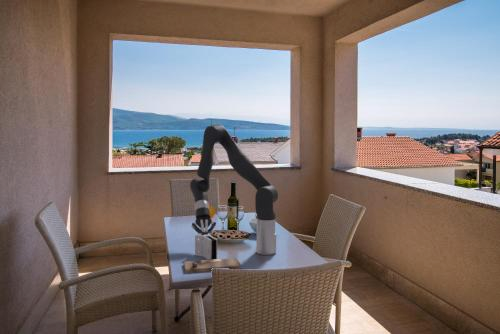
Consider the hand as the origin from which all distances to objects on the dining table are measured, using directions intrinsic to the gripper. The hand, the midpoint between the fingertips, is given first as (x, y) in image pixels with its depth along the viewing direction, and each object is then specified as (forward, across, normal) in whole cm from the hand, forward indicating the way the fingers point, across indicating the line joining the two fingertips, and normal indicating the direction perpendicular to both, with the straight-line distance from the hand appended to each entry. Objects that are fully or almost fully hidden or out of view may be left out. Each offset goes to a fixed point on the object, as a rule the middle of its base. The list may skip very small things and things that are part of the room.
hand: (205, 240), depth 186 cm
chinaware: (-15, +38, +24) cm, 47 cm away
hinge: (+10, -1, -1) cm, 11 cm away
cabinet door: (+20, 0, -11) cm, 22 cm away
